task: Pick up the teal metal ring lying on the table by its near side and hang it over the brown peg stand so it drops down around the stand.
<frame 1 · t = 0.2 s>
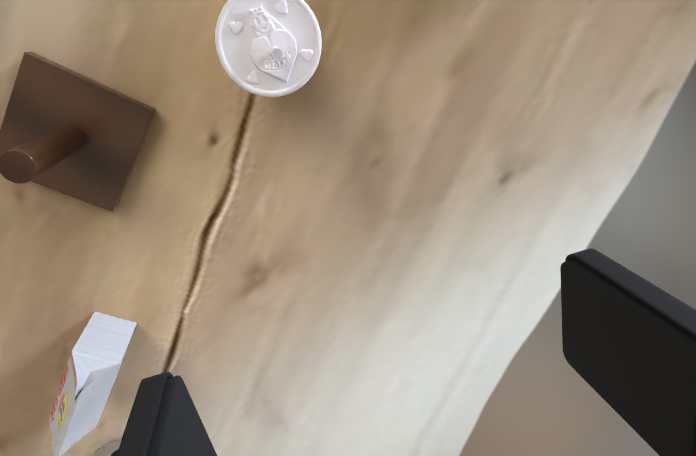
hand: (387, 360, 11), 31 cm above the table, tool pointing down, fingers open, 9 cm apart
white milk carton: (106, 345, 44), on the table
brown peg stand: (77, 135, 36), on the table
smoothie: (265, 42, 37), on the table
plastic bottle: (126, 453, 48), on the table
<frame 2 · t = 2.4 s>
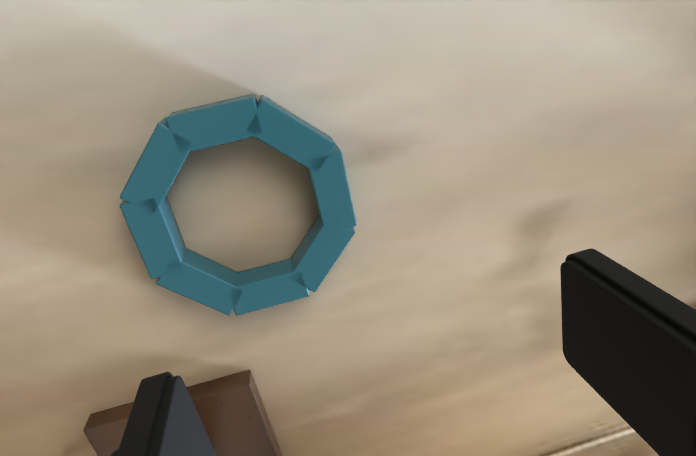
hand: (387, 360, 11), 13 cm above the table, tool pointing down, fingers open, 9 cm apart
brown peg stand: (197, 448, 28), on the table
ring: (245, 204, 23), on the table
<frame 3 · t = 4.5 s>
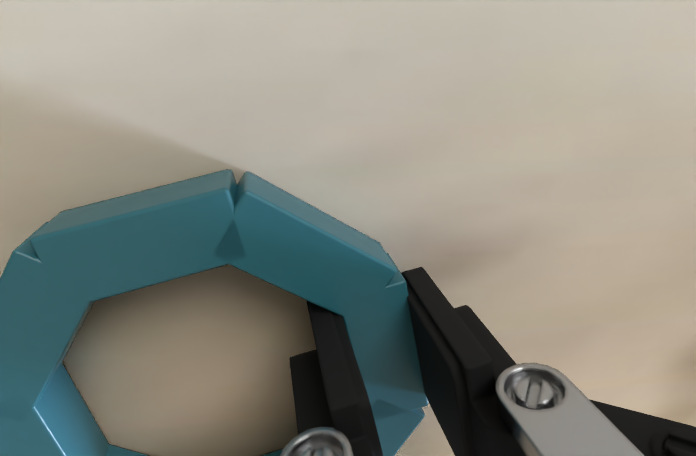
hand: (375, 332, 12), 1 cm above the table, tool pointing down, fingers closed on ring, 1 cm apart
ring: (218, 365, 12), on the table, touching gripper
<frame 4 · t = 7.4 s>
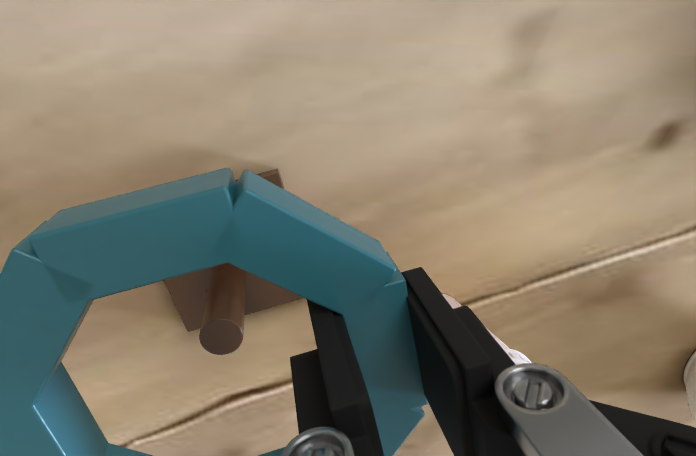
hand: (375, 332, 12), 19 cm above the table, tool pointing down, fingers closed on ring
brown peg stand: (231, 249, 31), on the table
smoothie: (435, 313, 36), on the table
ring: (218, 364, 12), point 19 cm above the table, touching gripper
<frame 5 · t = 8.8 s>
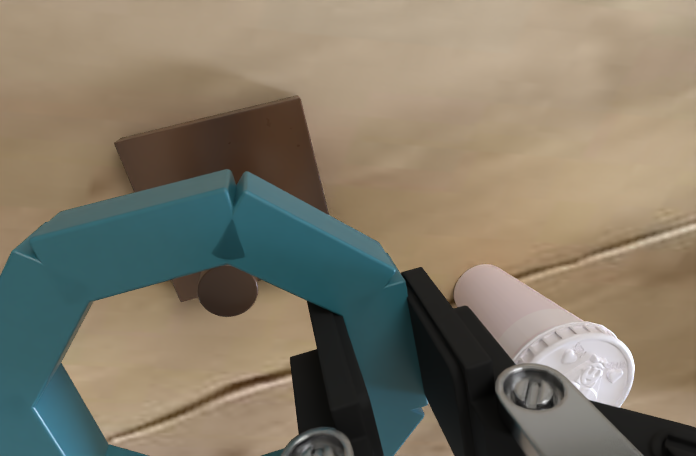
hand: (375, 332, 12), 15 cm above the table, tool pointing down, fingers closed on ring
brown peg stand: (237, 198, 25), on the table
smoothie: (479, 288, 30), on the table
ring: (218, 365, 12), point 14 cm above the table, touching gripper
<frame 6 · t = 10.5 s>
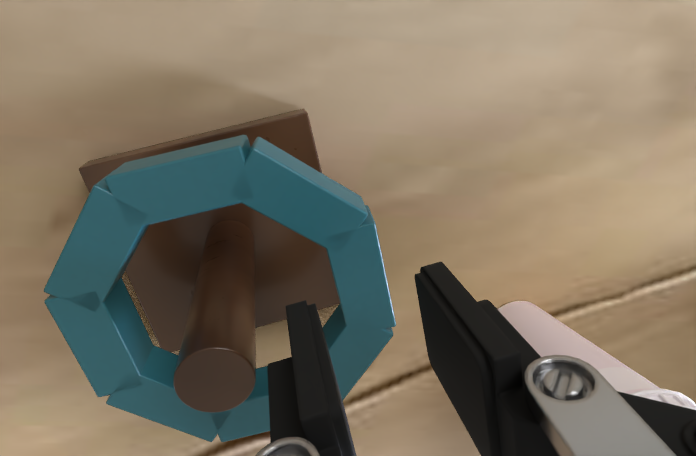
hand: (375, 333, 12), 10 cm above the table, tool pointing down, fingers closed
brown peg stand: (231, 231, 21), on the table
smoothie: (511, 327, 26), on the table
ring: (235, 288, 16), point 6 cm above the table, tilted 5°
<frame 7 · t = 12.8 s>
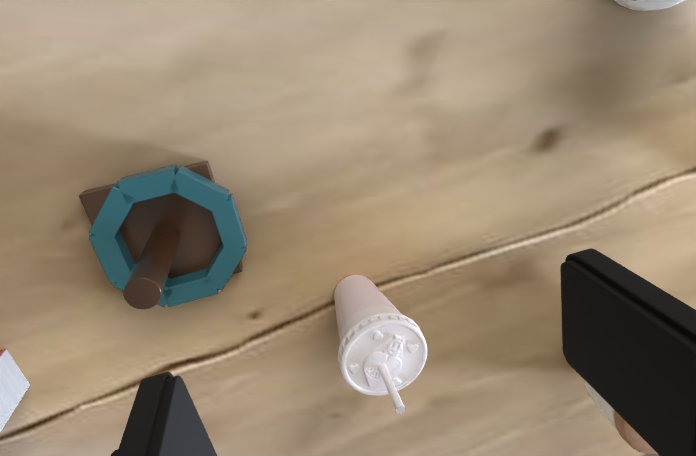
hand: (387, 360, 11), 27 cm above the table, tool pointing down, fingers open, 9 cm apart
brown peg stand: (168, 230, 36), on the table
smoothie: (354, 292, 41), on the table
ring: (173, 234, 35), point 1 cm above the table, touching brown peg stand
lidded bowl: (610, 342, 50), on the table
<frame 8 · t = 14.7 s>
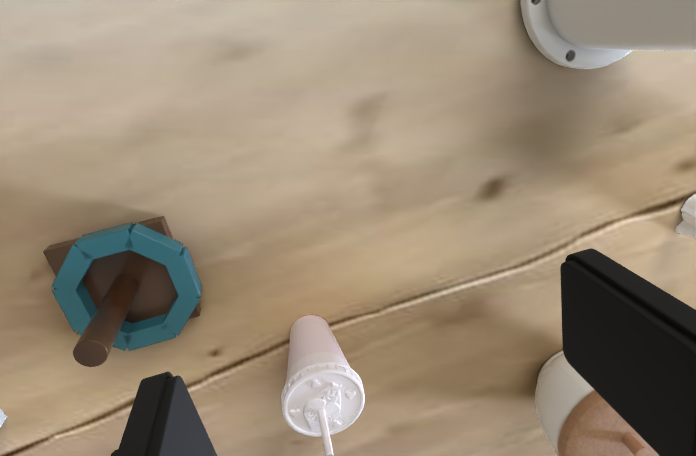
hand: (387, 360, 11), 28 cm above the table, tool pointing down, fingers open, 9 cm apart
brown peg stand: (129, 278, 39), on the table
smoothie: (309, 330, 44), on the table
ring: (133, 283, 37), point 1 cm above the table, touching brown peg stand
lidded bowl: (565, 372, 52), on the table
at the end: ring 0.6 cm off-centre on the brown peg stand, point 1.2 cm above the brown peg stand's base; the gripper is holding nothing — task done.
